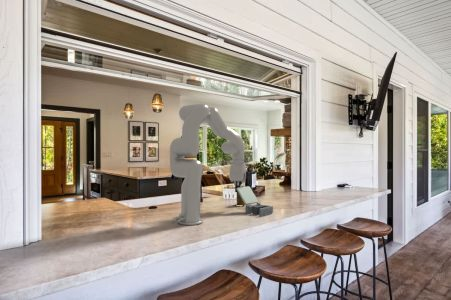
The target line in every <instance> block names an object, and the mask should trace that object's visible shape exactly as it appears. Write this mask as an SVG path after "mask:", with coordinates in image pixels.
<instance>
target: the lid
mask: <svg viewBox="0 0 451 300" xmlns="http://www.w3.org/2000/svg"><path fill="white" fill-rule="evenodd" d="M237 191H238V192H239V194H240V196H241V198H242V200H243V202H244V203H245V205H254V204H257V203H259V199H258V198H257V196H256V194H255V193H254V192H253V189H252V188H251V187H250V186H248V185H247V186H241V187H240V188H237Z"/></svg>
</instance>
